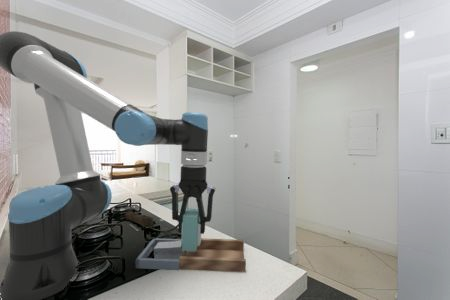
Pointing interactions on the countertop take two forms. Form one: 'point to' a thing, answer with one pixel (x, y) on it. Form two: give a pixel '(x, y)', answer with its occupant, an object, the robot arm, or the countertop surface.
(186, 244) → the upright teal block
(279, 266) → the countertop surface
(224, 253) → the channel
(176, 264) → the tray
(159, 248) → the grey cube
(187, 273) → the countertop surface
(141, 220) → the hand tool
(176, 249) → the light grey cube
